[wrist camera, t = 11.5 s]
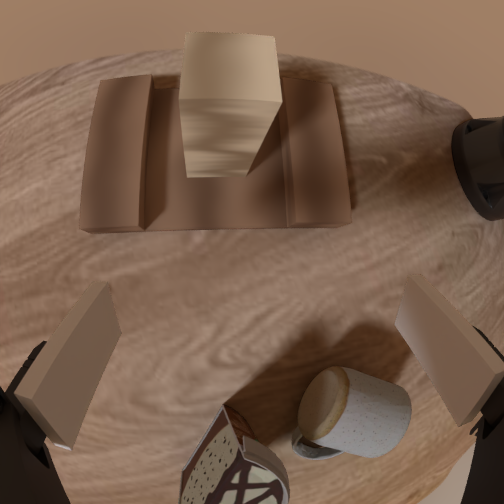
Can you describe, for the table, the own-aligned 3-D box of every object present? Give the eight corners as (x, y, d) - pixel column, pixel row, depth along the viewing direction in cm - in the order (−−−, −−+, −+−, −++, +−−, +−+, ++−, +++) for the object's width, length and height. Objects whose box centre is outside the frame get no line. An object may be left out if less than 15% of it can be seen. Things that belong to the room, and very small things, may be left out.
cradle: (320, 99, 27) (331, 84, 24) (336, 227, 26) (352, 222, 23) (108, 96, 24) (100, 80, 21) (92, 233, 23) (79, 228, 20)
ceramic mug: (319, 351, 25) (360, 378, 18) (381, 375, 26) (427, 400, 19) (267, 442, 24) (288, 490, 16) (332, 456, 25) (363, 496, 17)
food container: (230, 496, 23) (244, 561, 13) (176, 479, 22) (172, 547, 12) (288, 413, 24) (330, 471, 15) (230, 390, 24) (249, 452, 14)
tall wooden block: (243, 126, 25) (274, 36, 13) (245, 177, 25) (282, 102, 13) (188, 126, 24) (186, 32, 12) (186, 177, 24) (178, 98, 12)
